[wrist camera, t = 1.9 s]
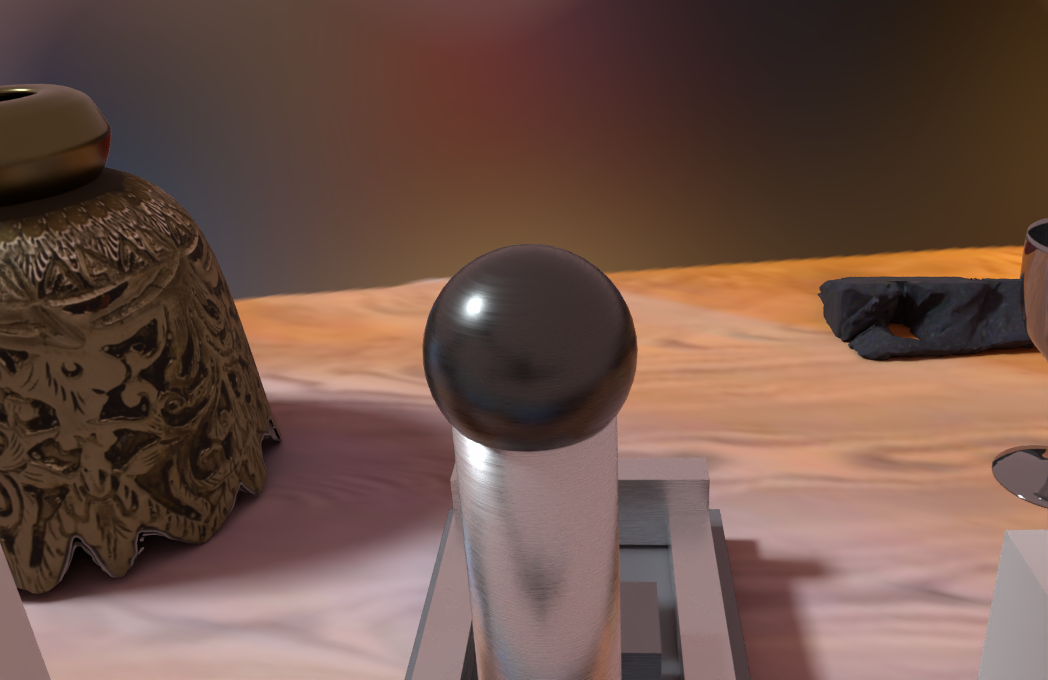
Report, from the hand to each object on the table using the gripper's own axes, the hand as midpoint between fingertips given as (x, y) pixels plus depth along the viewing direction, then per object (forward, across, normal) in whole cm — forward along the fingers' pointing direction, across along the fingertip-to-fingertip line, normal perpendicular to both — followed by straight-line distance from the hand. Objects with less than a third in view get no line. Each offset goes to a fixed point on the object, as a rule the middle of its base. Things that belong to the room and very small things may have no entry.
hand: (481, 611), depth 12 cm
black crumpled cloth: (+62, +30, -24) cm, 73 cm away
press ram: (+19, 0, -22) cm, 29 cm away
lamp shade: (+39, -32, -24) cm, 56 cm away
